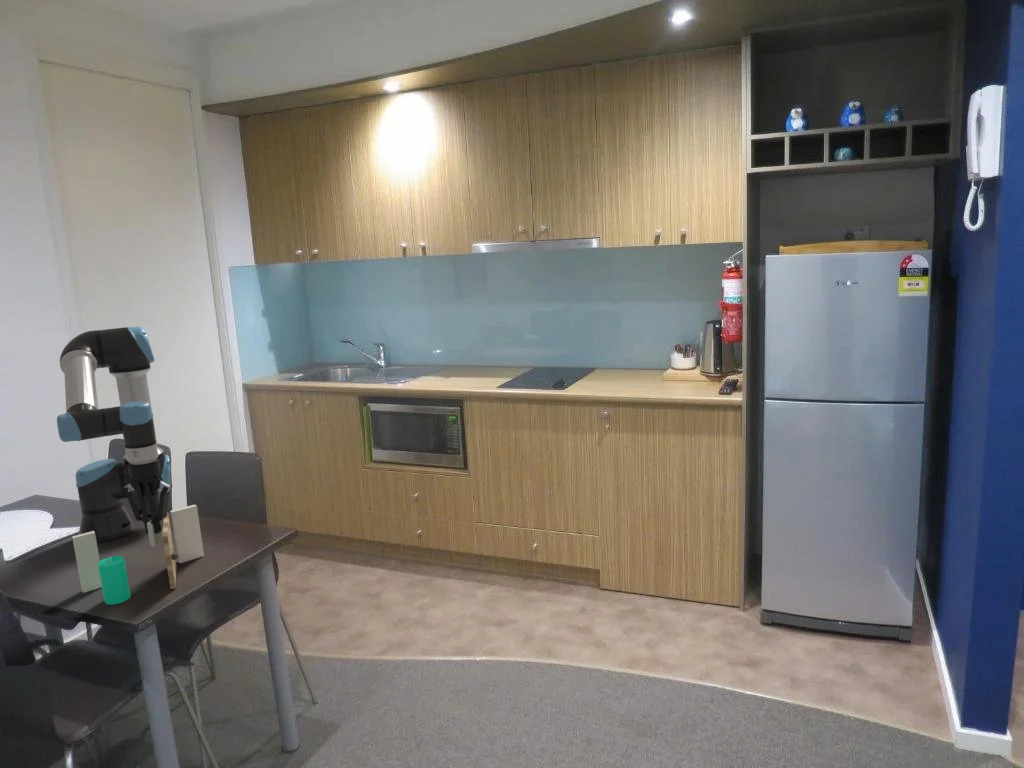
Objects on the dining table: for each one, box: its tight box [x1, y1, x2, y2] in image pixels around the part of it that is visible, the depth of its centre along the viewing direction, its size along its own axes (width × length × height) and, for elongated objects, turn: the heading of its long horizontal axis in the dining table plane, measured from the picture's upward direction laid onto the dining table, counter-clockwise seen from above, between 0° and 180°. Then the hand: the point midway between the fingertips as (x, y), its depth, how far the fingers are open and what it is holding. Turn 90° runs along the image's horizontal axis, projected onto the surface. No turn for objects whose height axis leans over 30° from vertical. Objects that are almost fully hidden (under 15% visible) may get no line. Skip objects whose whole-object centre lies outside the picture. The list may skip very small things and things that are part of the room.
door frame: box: [71, 504, 205, 593], centre depth 200 cm, size 2×31×15 cm, turn 130°
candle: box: [98, 555, 132, 605], centre depth 186 cm, size 6×6×12 cm
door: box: [161, 514, 178, 590], centre depth 197 cm, size 17×3×15 cm, turn 24°
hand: (155, 544), depth 196 cm, fingers closed
